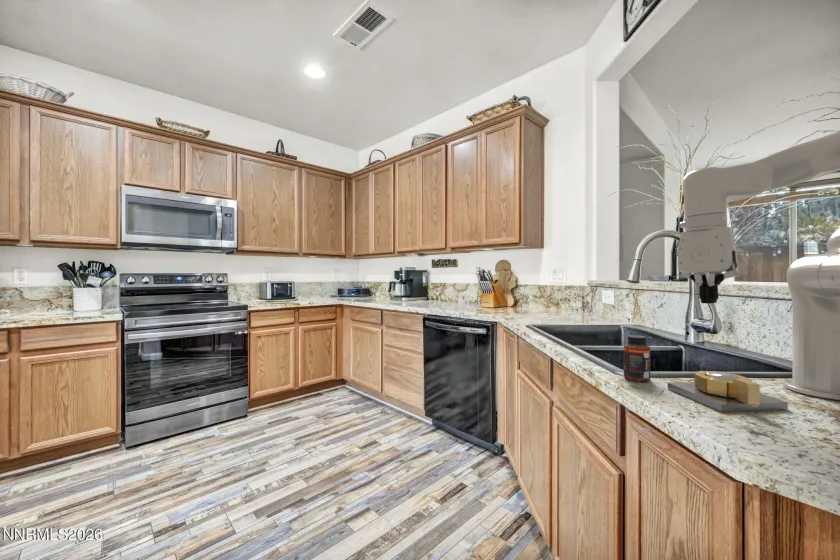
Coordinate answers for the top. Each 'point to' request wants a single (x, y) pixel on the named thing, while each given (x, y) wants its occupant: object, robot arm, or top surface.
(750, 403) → the segmented octagonal ring
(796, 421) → the top surface
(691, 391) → the spindle plate
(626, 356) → the supplement bottle
